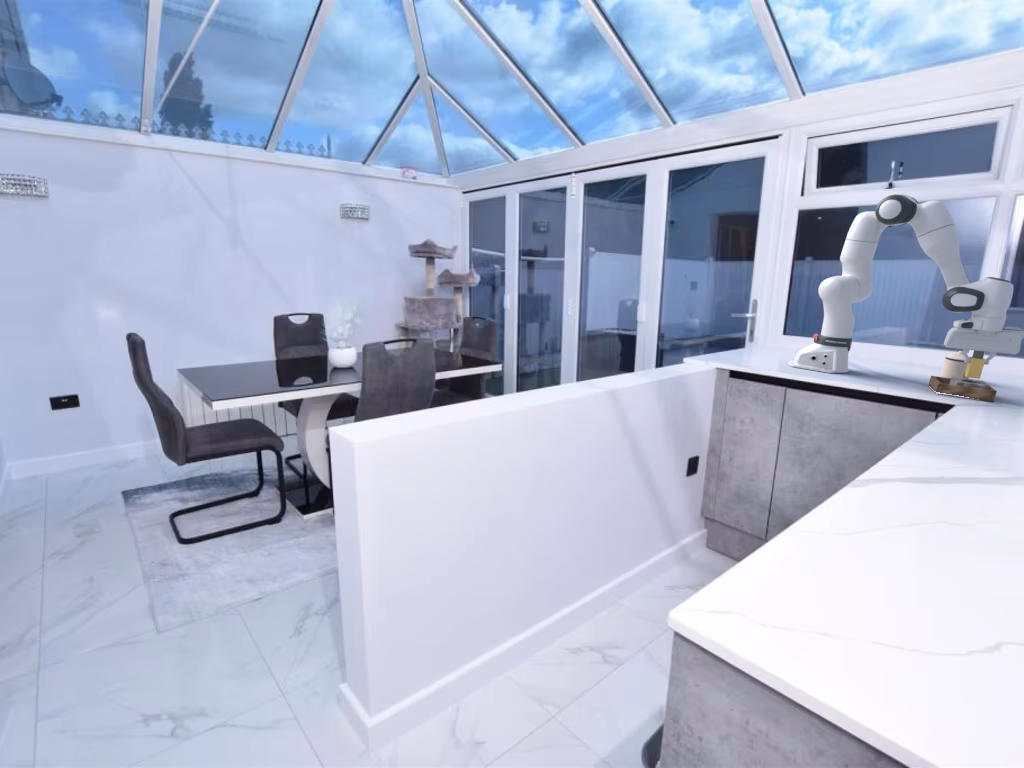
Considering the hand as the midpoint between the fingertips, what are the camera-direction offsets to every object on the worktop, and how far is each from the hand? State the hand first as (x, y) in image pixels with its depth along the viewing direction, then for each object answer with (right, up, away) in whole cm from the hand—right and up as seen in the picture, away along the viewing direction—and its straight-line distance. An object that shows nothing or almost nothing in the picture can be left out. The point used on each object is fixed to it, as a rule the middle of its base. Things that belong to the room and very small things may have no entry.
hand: (975, 363), depth 184 cm
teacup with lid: (+16, -5, +28) cm, 32 cm away
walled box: (-2, -11, +4) cm, 12 cm away
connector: (0, -5, +1) cm, 5 cm away
